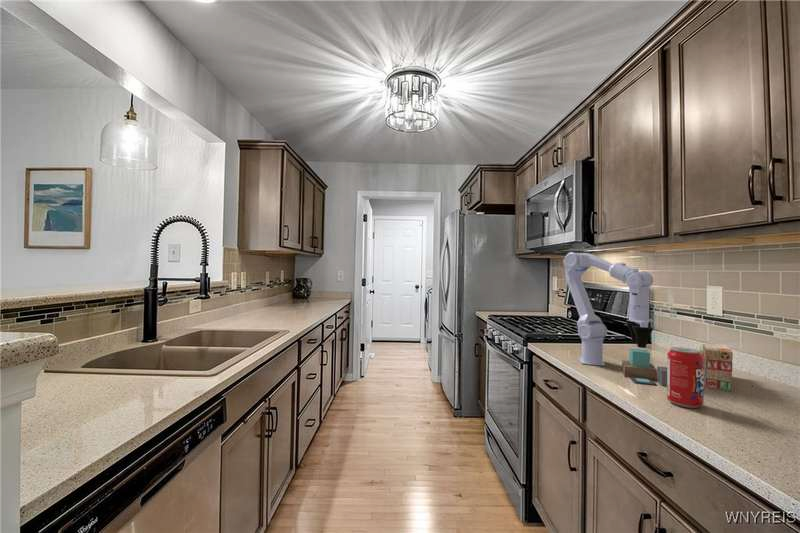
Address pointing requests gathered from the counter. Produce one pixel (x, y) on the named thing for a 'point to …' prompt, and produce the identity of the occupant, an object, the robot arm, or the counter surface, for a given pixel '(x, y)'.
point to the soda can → (685, 377)
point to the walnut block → (638, 371)
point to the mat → (643, 381)
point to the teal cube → (639, 358)
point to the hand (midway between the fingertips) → (638, 345)
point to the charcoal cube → (662, 376)
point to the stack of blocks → (717, 366)
